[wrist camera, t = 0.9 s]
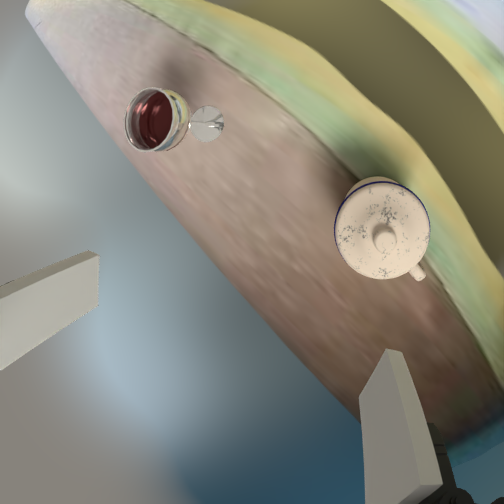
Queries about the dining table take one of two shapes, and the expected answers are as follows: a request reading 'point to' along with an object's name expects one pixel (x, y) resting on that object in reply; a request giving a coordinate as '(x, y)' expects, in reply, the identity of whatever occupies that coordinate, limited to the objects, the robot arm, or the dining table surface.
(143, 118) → the wineglass
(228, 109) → the dining table surface
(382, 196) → the teacup with lid
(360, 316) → the dining table surface
